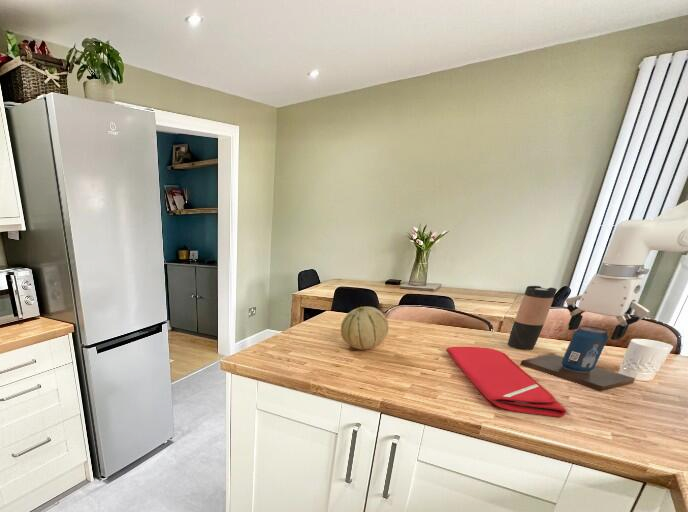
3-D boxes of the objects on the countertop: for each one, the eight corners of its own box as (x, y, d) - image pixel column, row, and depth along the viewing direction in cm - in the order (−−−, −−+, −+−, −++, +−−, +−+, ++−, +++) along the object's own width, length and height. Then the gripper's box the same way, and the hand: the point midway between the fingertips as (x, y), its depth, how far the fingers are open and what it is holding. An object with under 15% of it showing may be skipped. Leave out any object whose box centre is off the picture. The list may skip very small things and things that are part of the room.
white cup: (615, 368, 118) (630, 336, 114) (654, 376, 113) (672, 342, 109) (614, 376, 113) (631, 343, 109) (655, 384, 108) (674, 350, 104)
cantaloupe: (392, 349, 137) (402, 306, 130) (367, 359, 129) (376, 314, 123) (353, 338, 148) (360, 298, 141) (329, 347, 140) (335, 305, 134)
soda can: (569, 363, 119) (586, 324, 114) (598, 371, 113) (617, 331, 108) (554, 366, 117) (570, 327, 112) (582, 375, 111) (600, 334, 106)
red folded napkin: (500, 357, 128) (504, 346, 126) (566, 418, 93) (572, 404, 91) (444, 352, 133) (447, 342, 131) (487, 409, 98) (492, 396, 96)
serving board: (632, 383, 109) (635, 378, 109) (600, 391, 105) (603, 386, 105) (550, 358, 126) (552, 354, 126) (519, 364, 122) (521, 360, 122)
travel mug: (514, 349, 134) (536, 290, 125) (501, 342, 141) (521, 285, 132) (539, 350, 133) (563, 290, 124) (525, 343, 139) (547, 285, 131)
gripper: (674, 274, 97) (643, 341, 104) (588, 265, 112) (565, 324, 119) (656, 277, 95) (625, 345, 102) (570, 268, 110) (548, 327, 117)
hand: (593, 333), depth 110 cm, fingers open, 9 cm apart
